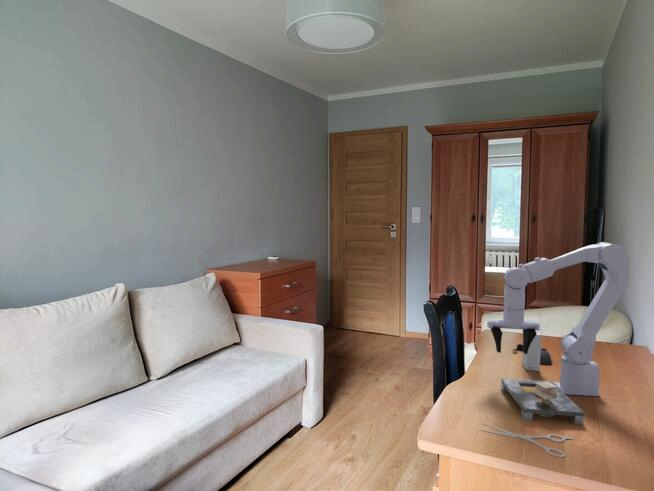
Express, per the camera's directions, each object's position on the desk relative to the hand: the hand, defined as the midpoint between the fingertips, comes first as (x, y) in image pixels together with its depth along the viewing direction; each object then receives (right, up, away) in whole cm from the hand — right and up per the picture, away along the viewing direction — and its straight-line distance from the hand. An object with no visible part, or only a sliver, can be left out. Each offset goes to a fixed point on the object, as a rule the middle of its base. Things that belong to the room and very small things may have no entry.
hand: (511, 352), depth 133 cm
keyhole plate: (+1, -11, -14) cm, 18 cm away
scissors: (-11, -12, -32) cm, 36 cm away
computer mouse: (+18, -8, +26) cm, 33 cm away
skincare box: (+12, -9, +14) cm, 21 cm away
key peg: (+1, -11, -19) cm, 22 cm away
